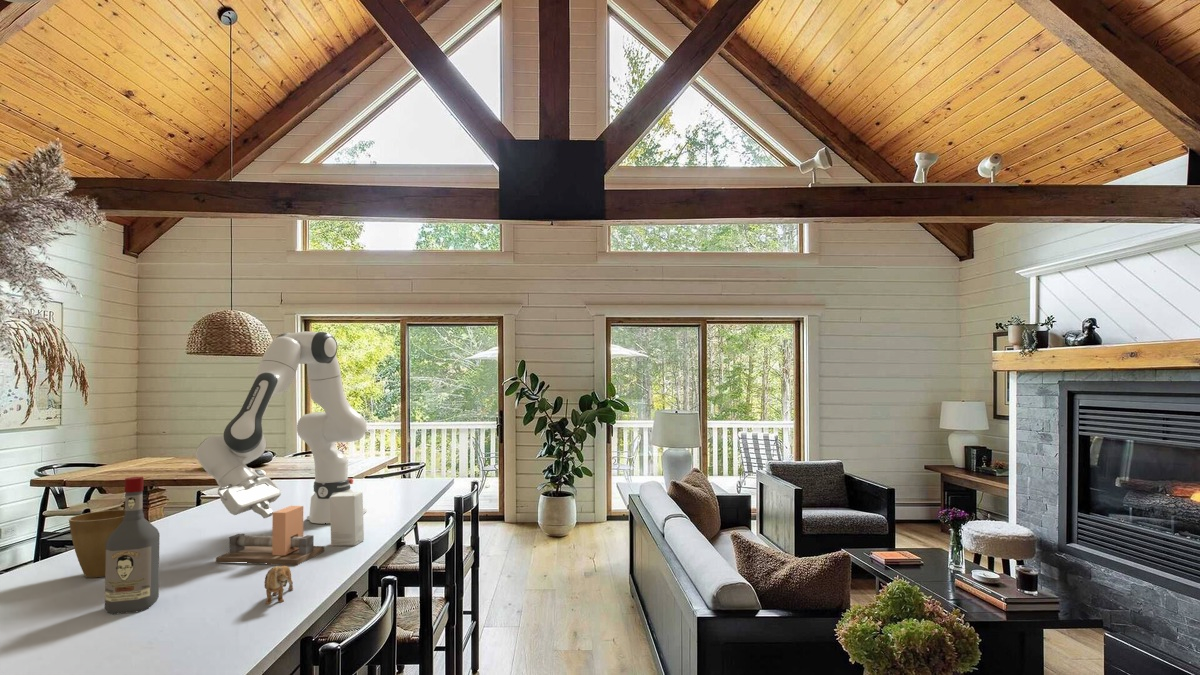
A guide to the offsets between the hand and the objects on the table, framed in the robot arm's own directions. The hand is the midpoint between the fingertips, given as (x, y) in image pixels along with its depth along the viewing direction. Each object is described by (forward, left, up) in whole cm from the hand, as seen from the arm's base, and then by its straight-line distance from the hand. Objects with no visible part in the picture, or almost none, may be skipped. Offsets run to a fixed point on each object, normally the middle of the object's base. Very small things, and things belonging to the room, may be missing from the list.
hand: (269, 515), depth 197 cm
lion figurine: (+32, +24, -12) cm, 42 cm away
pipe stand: (0, +1, -12) cm, 12 cm away
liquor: (+41, -7, -12) cm, 43 cm away
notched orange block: (0, +6, -10) cm, 12 cm away
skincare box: (-16, +16, -12) cm, 25 cm away
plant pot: (+19, -36, -12) cm, 43 cm away
